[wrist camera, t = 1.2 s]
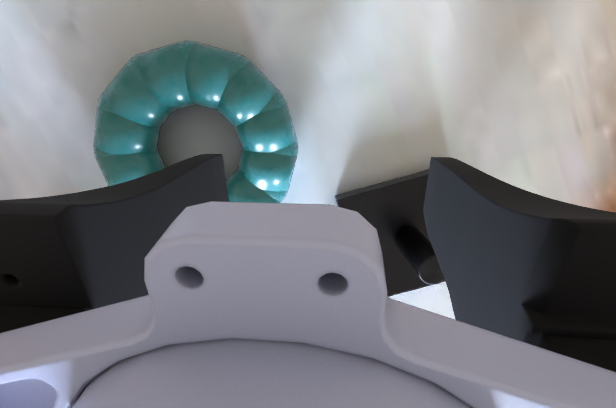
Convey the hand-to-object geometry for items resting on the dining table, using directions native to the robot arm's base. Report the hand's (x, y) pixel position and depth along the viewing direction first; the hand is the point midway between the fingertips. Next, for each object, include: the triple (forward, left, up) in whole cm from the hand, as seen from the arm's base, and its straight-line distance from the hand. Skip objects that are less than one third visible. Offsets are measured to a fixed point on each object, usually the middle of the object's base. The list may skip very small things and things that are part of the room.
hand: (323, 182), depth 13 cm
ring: (-6, +1, -9) cm, 11 cm away
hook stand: (+5, -8, -11) cm, 14 cm away
